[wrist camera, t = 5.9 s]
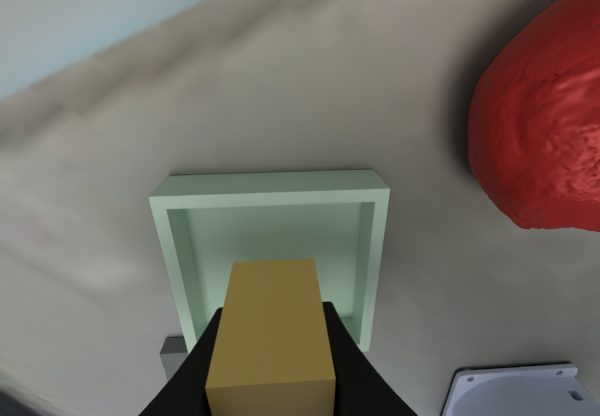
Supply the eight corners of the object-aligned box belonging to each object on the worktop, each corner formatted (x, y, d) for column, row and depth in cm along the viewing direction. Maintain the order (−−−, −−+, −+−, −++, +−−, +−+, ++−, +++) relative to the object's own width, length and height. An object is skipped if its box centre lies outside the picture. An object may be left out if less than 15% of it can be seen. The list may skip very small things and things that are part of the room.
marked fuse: (313, 258, 13) (336, 384, 8) (312, 337, 15) (330, 475, 10) (233, 261, 13) (203, 393, 8) (244, 342, 15) (226, 484, 10)
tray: (373, 169, 15) (390, 188, 13) (358, 316, 20) (368, 351, 17) (169, 175, 15) (148, 196, 12) (201, 325, 19) (190, 362, 17)
